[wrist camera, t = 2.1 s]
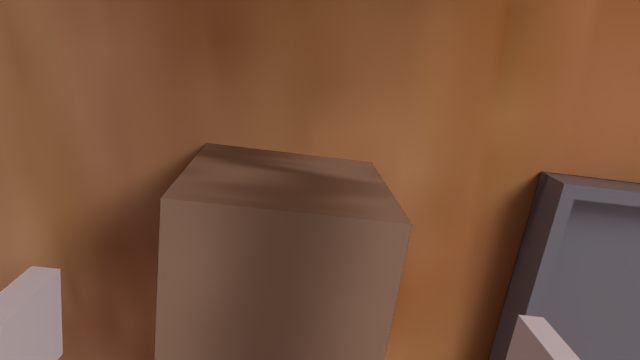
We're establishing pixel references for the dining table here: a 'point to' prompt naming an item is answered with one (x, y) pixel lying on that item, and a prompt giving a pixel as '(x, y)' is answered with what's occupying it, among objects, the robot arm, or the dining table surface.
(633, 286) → the slate tray
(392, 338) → the dining table surface
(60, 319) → the robot arm
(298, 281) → the walnut cube
